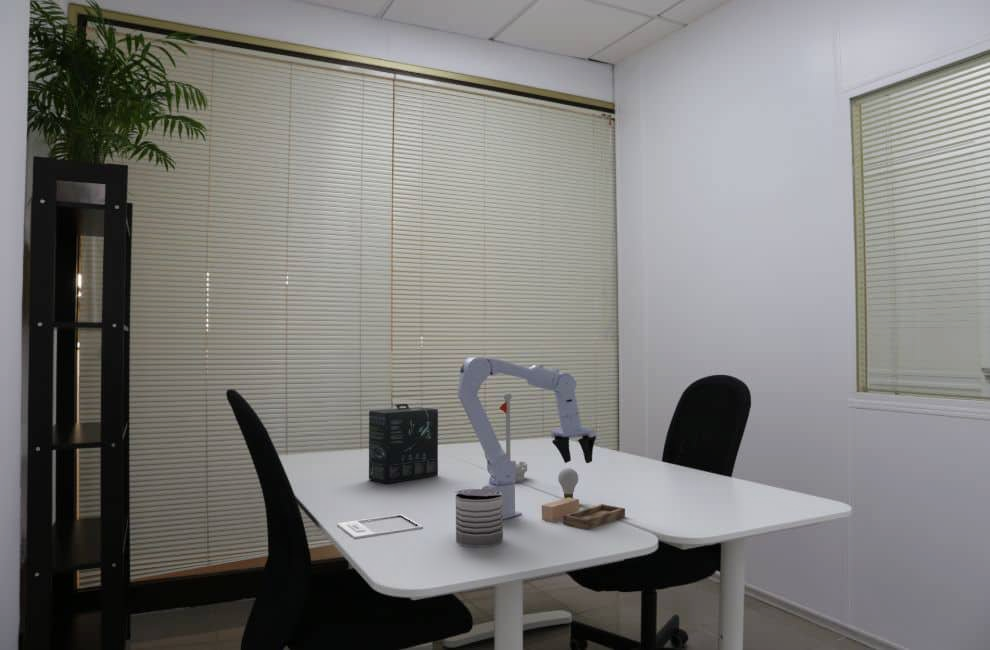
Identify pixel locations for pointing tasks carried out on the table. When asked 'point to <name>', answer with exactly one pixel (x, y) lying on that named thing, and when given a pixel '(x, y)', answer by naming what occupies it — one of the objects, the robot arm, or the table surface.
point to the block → (559, 509)
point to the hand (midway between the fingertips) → (578, 462)
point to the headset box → (403, 444)
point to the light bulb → (568, 481)
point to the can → (479, 518)
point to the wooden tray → (593, 516)
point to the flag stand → (522, 465)
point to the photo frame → (361, 531)
